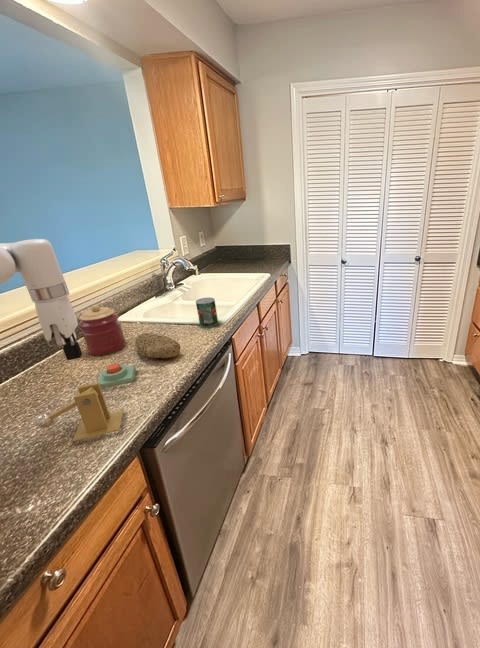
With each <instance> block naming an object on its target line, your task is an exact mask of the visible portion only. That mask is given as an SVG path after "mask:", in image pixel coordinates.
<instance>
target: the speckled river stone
mask: <svg viewBox="0 0 480 648" xmlns="http://www.w3.org/2000/svg"><path fill="white" fill-rule="evenodd" d="M134 344H135V347H136V349H137V351H138V353H139V354H140V355H142V356H143V357H145V358H146V357H147V358H151V359H169V358H175V357H176V356H178V355H179V354H180V353H181V348H182V347H181V345H180V343H179V342H178V341H177V340H176V339H173V338H171V337H169V336H166V335H161V334H159V333H156V332H143V333H140V334H139V335H137V336H136V338H135V341H134Z"/></svg>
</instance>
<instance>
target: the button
mask: <svg viewBox="0 0 480 648" xmlns="http://www.w3.org/2000/svg"><path fill="white" fill-rule="evenodd" d="M120 365H121V364H120V363H118V362H117V363H116V362H115V363H111V364H109V365H108V366H107V367H106V369H107V371H108V373H109V374H113V373H116V372H119V371H120V370H121V367H120Z"/></svg>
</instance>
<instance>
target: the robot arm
mask: <svg viewBox="0 0 480 648" xmlns="http://www.w3.org/2000/svg"><path fill="white" fill-rule="evenodd" d="M15 273H20V276H21V277H22V280H23V282H24V285H25V287H26V290H27V292H28V294H29V297H30V299H31V302H32V303H34V307H35V312H36V316H37V320H38V323H39V325H40V328H41V331H42V333H43V336H44V339H45V341H47V342H52V341H53V339H55V343H56V345H57V347H61V348H62V350H63V353H64V355H65V358H66V360H67V361H72V360H77V359H80V358H81V357H82V356H83V352H82V349H81V347H80V344H79V342H78V338H77V337H78V336H77V334H76V329H77V327H78V326H79V321H78V318H77V314H76V311H75V310H74V307H73V305H72V302H71V301H70V298H69V296H70V291H69V288H68V285H67V283H66V280H65V277H64V275H63V272H62V269H61V267H60V264H59V261H58V258H57V256H56V252H55V250H54V247H53V245H52V243H51V242H50V241H49V240H48V239H46V238H32V239H25V240H19V241H16V242H0V284H4V283H6V282H8V281H10V280H11V279H12V278H13V277H14V276H15Z"/></svg>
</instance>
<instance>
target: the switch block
mask: <svg viewBox="0 0 480 648" xmlns="http://www.w3.org/2000/svg"><path fill="white" fill-rule="evenodd" d="M120 367H121V370H120V371H119V372H116V373H113V374H109V373H108V371H107V368H105V369H104V370H102V371H100V373H99V376H98V378H97V381H96V383H97V382H99V384H100V387H101V389H104V388H108V387H113V386H118V385H122V384H127V383H132V382H134V380H135V378H136V373H137V370H136V366H135V365H129V366H127V365H125V364H120Z"/></svg>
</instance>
